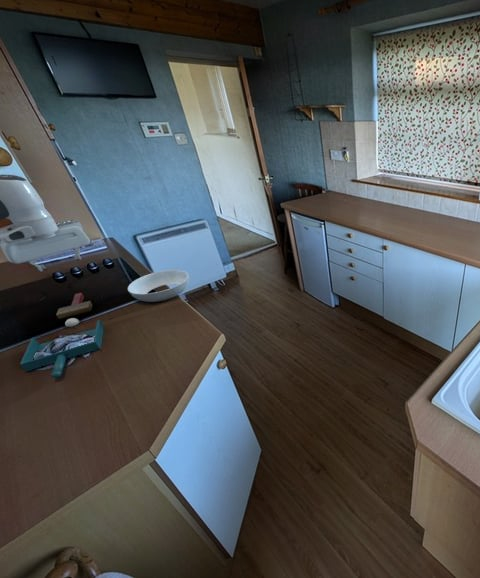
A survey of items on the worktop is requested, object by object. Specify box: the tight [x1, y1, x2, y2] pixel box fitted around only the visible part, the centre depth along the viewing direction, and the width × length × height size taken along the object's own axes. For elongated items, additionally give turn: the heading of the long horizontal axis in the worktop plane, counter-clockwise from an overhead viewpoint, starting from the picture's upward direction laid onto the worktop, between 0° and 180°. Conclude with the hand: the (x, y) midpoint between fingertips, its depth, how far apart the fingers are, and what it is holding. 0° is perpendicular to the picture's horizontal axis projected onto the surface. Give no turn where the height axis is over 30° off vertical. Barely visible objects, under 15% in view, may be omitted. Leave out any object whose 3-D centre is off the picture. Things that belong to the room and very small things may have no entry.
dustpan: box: [19, 319, 105, 379], centre depth 92 cm, size 24×17×3 cm
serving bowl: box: [127, 269, 190, 303], centre depth 123 cm, size 21×21×7 cm
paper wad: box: [64, 317, 80, 329], centre depth 105 cm, size 4×4×4 cm
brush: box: [56, 292, 94, 320], centre depth 114 cm, size 15×9×4 cm, turn 36°
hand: (61, 264), depth 103 cm, fingers open, 8 cm apart
